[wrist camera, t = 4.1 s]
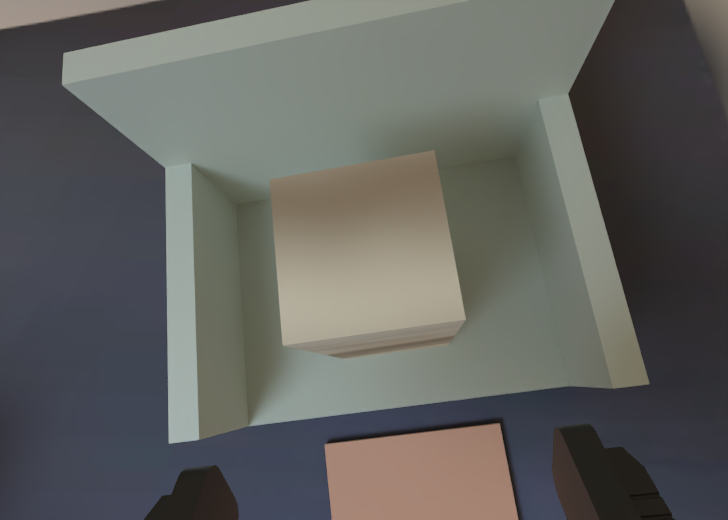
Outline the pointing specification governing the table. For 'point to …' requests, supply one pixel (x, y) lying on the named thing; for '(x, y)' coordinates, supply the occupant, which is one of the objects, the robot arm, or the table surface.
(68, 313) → the table surface
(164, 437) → the table surface
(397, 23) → the cubby
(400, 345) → the birch block
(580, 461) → the robot arm
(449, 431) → the mat
